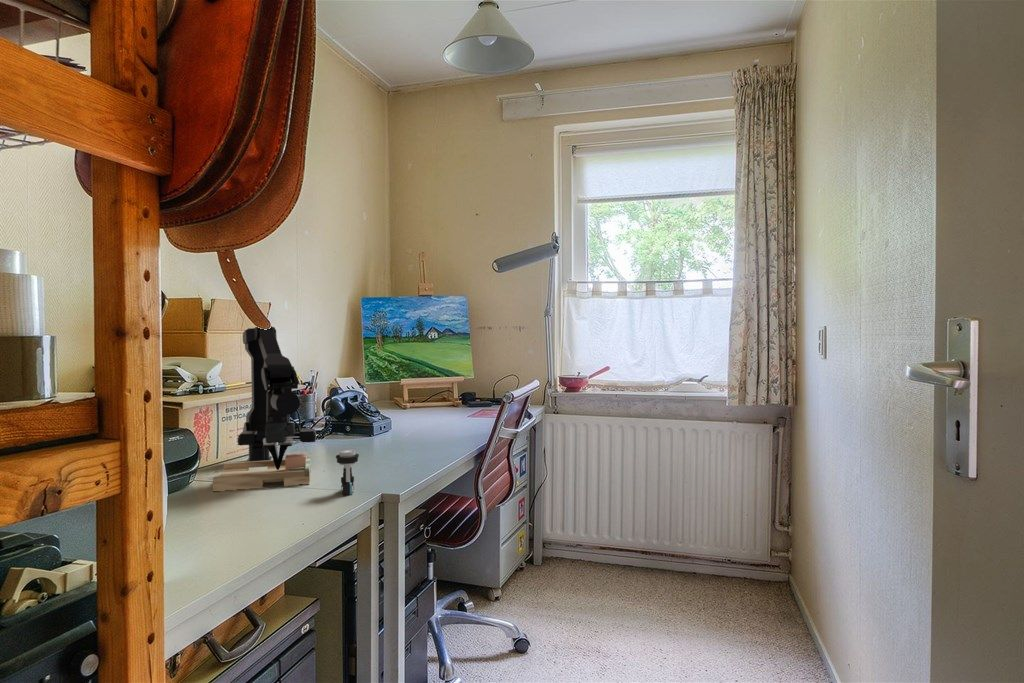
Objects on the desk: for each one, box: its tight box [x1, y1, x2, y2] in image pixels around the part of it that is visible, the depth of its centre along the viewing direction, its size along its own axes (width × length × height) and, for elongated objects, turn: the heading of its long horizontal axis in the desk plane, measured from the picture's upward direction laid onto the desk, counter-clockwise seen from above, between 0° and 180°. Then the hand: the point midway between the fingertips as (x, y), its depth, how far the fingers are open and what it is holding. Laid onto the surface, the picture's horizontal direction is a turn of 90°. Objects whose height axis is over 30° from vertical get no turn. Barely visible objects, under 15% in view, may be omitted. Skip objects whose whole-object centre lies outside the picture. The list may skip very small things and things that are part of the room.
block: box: [284, 452, 307, 471], centre depth 153 cm, size 5×5×4 cm
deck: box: [212, 455, 312, 492], centre depth 151 cm, size 16×22×4 cm
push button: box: [335, 449, 360, 496], centre depth 140 cm, size 7×5×10 cm
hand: (278, 469), depth 152 cm, fingers closed
